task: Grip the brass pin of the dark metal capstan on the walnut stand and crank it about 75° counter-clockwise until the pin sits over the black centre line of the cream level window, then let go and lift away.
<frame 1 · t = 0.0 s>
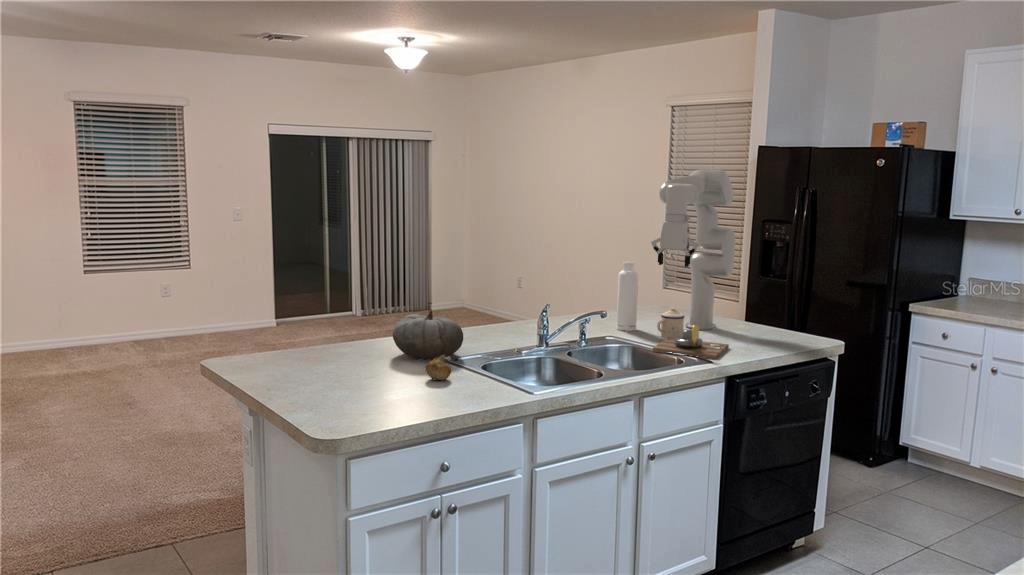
hand: (673, 265, 291), 31 cm above the worktop, fingers open, 9 cm apart
level stand: (687, 349, 295), on the worktop
gourd: (426, 356, 279), on the worktop
onion: (438, 380, 249), on the worktop
capstan: (690, 334, 290), point 7 cm above the worktop, hinge at 0.0°
bottle: (626, 329, 330), on the worktop
teacup with lid: (668, 337, 315), on the worktop
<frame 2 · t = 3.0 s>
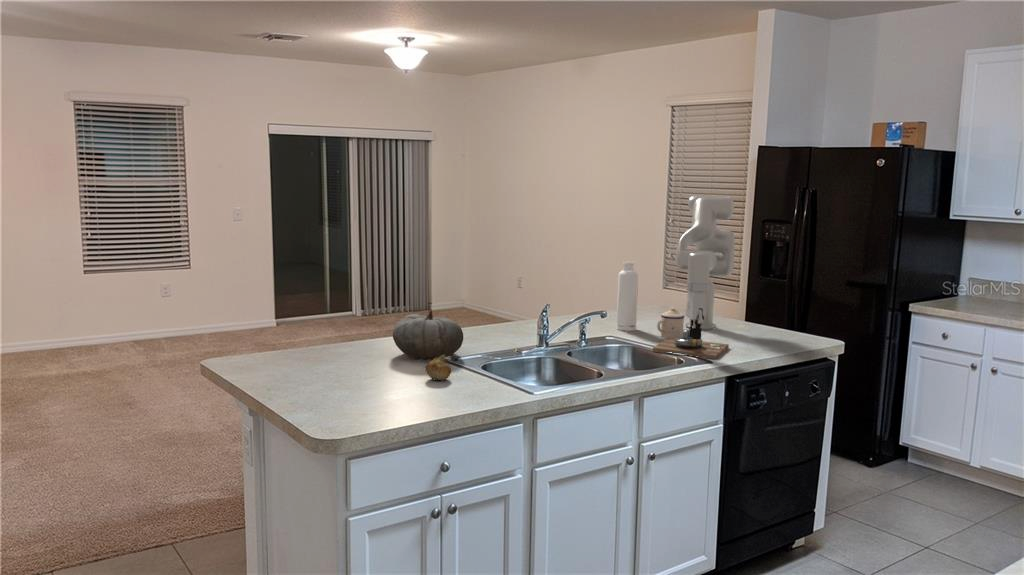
hand: (695, 337, 284), 7 cm above the worktop, fingers closed on capstan, 2 cm apart
capstan: (690, 334, 290), point 7 cm above the worktop, hinge at 0.0°, touching gripper
everything else where it was.
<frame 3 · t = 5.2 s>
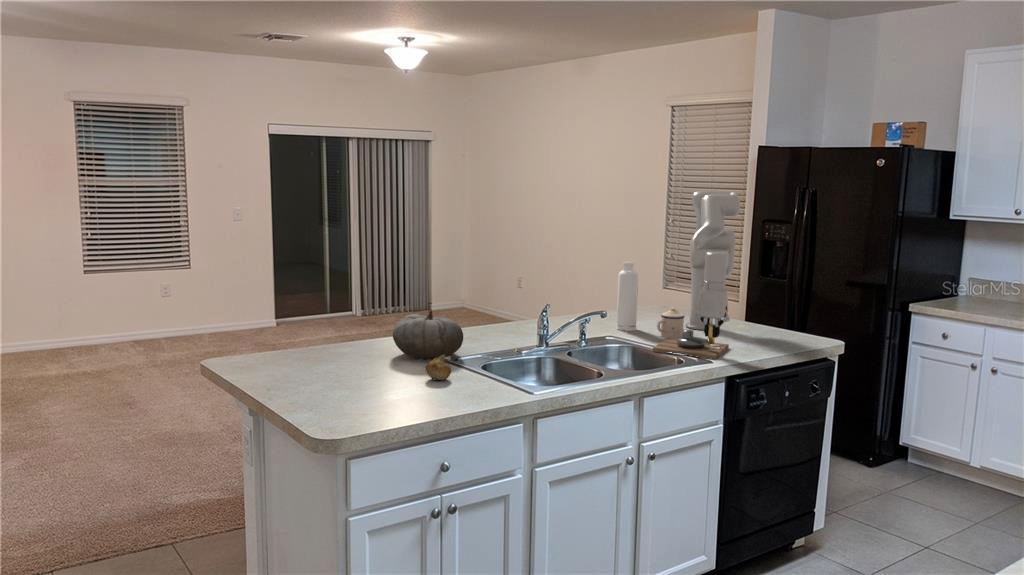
hand: (711, 336, 287), 7 cm above the worktop, fingers closed on capstan, 2 cm apart
capstan: (696, 333, 291), point 7 cm above the worktop, hinge at 40.7°, touching gripper
everything else where it was.
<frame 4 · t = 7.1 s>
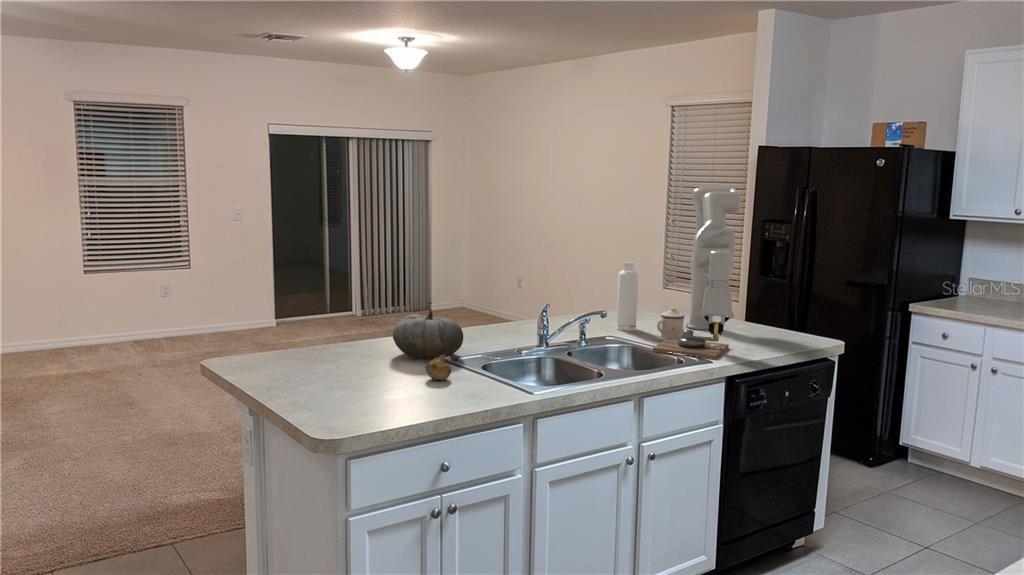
hand: (715, 333, 291), 7 cm above the worktop, fingers closed on capstan, 2 cm apart
capstan: (698, 332, 293), point 7 cm above the worktop, hinge at 72.3°, touching gripper
everything else where it was.
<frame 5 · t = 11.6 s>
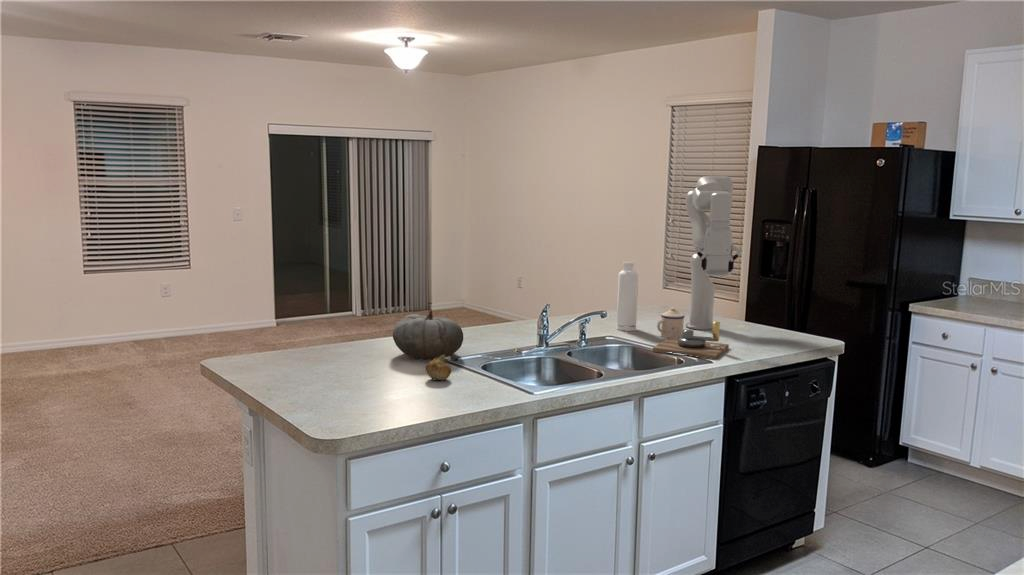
hand: (717, 270, 301), 28 cm above the worktop, fingers open, 9 cm apart
capstan: (698, 332, 293), point 7 cm above the worktop, hinge at 72.6°
everything else where it was.
at the end: capstan at +73° (first picture: +0°); the gripper is holding nothing; teacup with lid moved 0.2 cm from its start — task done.
